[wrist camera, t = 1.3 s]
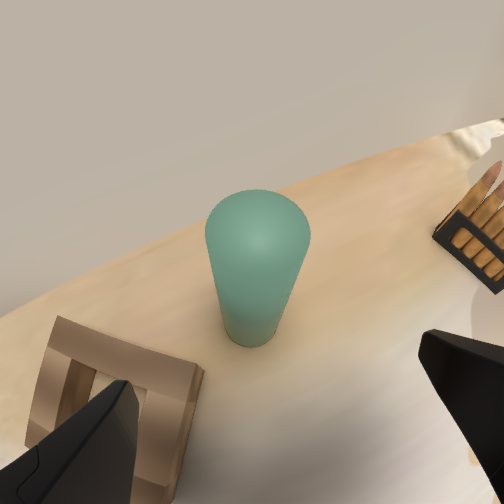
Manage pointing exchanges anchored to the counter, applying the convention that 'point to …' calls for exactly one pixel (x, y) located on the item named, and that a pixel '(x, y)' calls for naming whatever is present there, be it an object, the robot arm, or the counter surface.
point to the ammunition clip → (478, 231)
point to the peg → (255, 260)
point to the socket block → (138, 373)
